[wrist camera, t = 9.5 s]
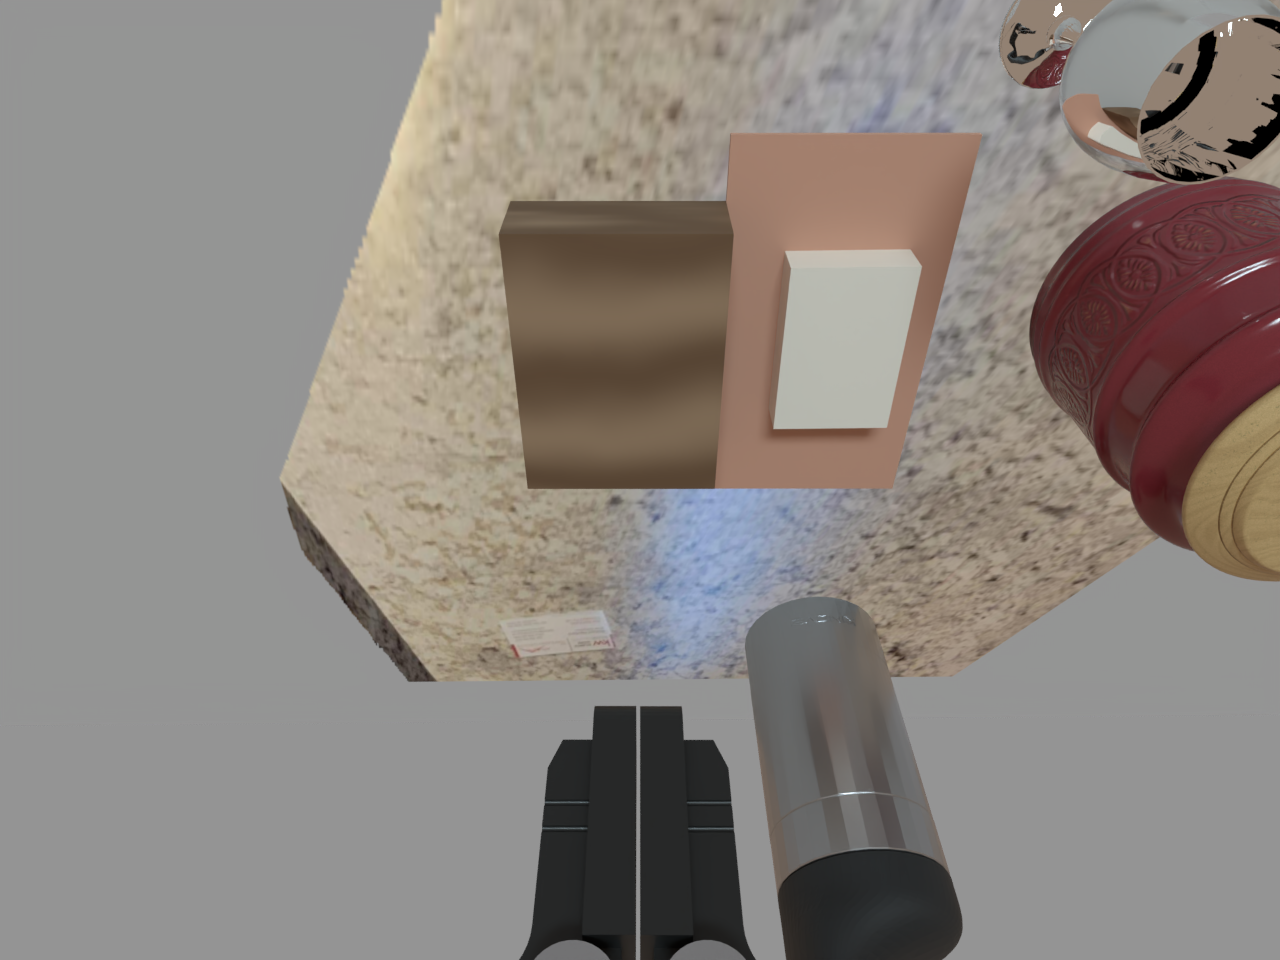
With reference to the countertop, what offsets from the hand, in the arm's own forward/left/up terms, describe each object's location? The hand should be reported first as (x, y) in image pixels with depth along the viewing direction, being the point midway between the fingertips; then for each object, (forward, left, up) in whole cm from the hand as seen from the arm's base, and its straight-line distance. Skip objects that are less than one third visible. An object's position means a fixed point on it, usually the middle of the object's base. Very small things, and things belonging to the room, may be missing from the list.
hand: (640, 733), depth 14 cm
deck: (-8, +1, -29) cm, 30 cm away
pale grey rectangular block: (-8, -10, -27) cm, 30 cm away
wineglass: (+6, -17, -29) cm, 34 cm away
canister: (-6, -26, -29) cm, 40 cm away
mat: (-8, -10, -29) cm, 32 cm away
